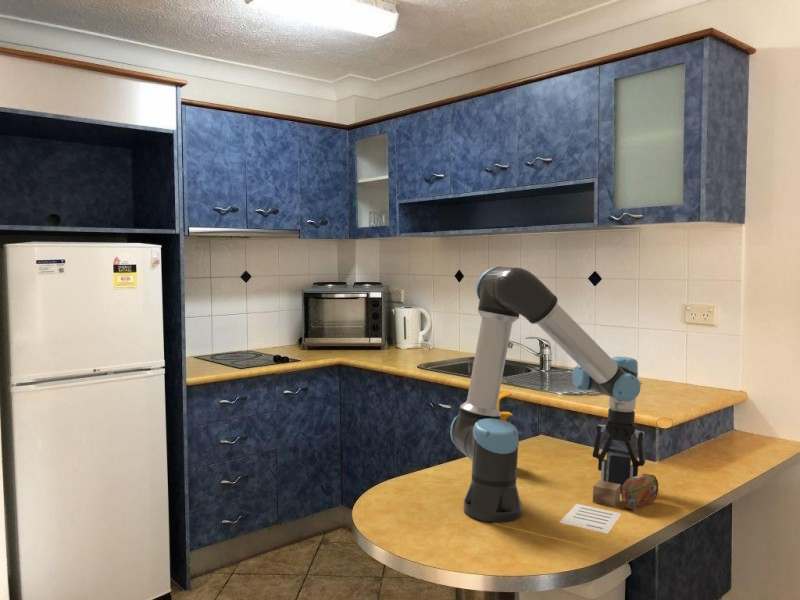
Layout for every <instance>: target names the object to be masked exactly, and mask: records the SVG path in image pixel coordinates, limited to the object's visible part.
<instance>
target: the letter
mask: <svg viewBox="0 0 800 600" xmlns="http://www.w3.org/2000/svg"><path fill="white" fill-rule="evenodd" d="M621 515H622V513H621V512H616V511H612V510H607V509H602V508H597V507H593V506H588V505H585V504H580V503H575V504H574V506H573V507H572V508H571V509H570V510H569V511H568V512H567V513H566V514H565V516H563V518H561V520H560V521H559V523H561V524H565V525H568V526H574V527H576V528H577V527H578V528H582V529H586V530H591V531H595V532H597V533H602V534H606V535H607V534H609V533H610V531H611V530H612V528H613V526H615V524H616V522H617V521H618V519H619V518H620V516H621Z"/></svg>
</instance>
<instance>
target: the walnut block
mask: <svg viewBox="0 0 800 600" xmlns="http://www.w3.org/2000/svg"><path fill="white" fill-rule="evenodd" d="M592 487H593V490H592V503H595V504H599V505H603V506H609V507H614V508H615V507H616V506H617V505H618V504H619V502H620V500H621V491H620V489H621V484H616V483H611V482H606V481H601V479H599V480H598V481H597V482H596V483H595V484H594V485H593V486H592Z"/></svg>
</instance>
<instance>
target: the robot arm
mask: <svg viewBox="0 0 800 600" xmlns="http://www.w3.org/2000/svg"><path fill="white" fill-rule="evenodd" d="M475 288H476V290H475V292H476V296H477V299H478V300H479V303H478V307H477V312H478V314H479V315H480V317H481V322H480V327H479V332H478V338H477V343H476V349H475V354H474V359H473V365H472V370H471V376H470V381H469V387H468V393H467V398H466V401H465V402H464V403H462V404H460V406H459V411H458V414H457V416H455V417H454V418H453V420H452V421H451V424H450V430H449V435H450V438H451V441H452V443H453V445H454V447H455V448H456V449H457V450H458V451H459V452H460V453H461V454H462V455H465V456H466V457H467V458H468V459H470V460H471V461H472V462H471V478H470V479H471V480H470V484H469V487H468V489H467V491H466V495H465V497H464V500H463V512H464V513H465V514H466V515H467V516H468V517H470V518H473V519H475V520H478V521H482V522H488V523H497V524H498V523H499V524H500V523H502V524H503V523H509V522H510V523H511V522H514V521H518V520H519V519H520V518H521V517H522V514H523V513H522V511H523V507H522V501H521V499H520V494H519V491H518V487H517V475H518V473H517V472H518V459H519V458H518V455H519V444H520V439H519V431H518V429H517V427H516V426H515V425H514V424H512V423H510V422H509V421H507V420H506V421H502V420H501V413H500V412H501V411H500V412H499V410H498V409H497V403H498V398H499V393H501V386H502V380H503V375H504V369H505V365H506V359H507V354H508V350H509V344H510V337H511V331H512V328H513V323H515V322H516V321H517V320H519V319H520V315H521V316H522V317H523V318H525V319H526V320H527V321H528V322H529V323H530V324H531V325H535V324H536V325H537V326H538V327H539V328H540V329H542V331H544V332H545V334H547V335H548V336H549V337H550V338H551V340H553V342H555V343H556V344H557V345H558V347H560V348H561V349H562V351H564V352H565V353H566V354H567V355H568V356H569V358H571V359H572V360H573V361H574V362H575V363H576V364H577V365H575V367H574V368H573V370H572V376H571V377H572V379H571V380H572V383H573V385H574V387H575V388H576V389H577V390H579V391H594V392H597V393H599V394H602V395H605V396H607V397H608V407H609V408H608V413H607V423H606V424H598V425H597V426H596V436H595V443H594V447H593V452H592V457H593V458H595V459H597V460H598V463H597V464H598V466H597V470H598V471H600V472H601V473H600V480H601V481H605V478H606V462H607V459H605V457H606V456H607V451H608V449H609V448H610V446H611V447H612V444H613V442H614V440H615V441H621V442H624V444H625V447H626V448H627V449H628V452H629V455H630V456H631V466H630V478H632V477H635V476H638V475H639V467H643V466H644V465H645V464H646V456H645V444H644V437H645V431H643V430H641V431H640V430H639V429H636V427H635V419H636V418H635V417H636V415H635V414H636V412H635V409H636V405H637V404H636V401H637V398H638V396H639V394H640V392H641V389H642V388H641V382H640V380H639V378H638V375H639V373H638V372H639V371H638V370H639V369H638V360H637V359H636V358H632V357H630V356H629V357H628V356H613V357H610V356H609V354H608V353H607V352H606V351H605V350H604V349H603V348H601V346H600V345H599V344H598V343H597V342H596V341H595V340H594V339H593V338H592V337H591V336H590V335H589V334H588V333H587V332H586V331H585V330H584V329H583V328H582V327H581V326H580V325H579V324H578V323H577V322H576V321H575V319H573V318H572V316H570V315H569V314H568V312H567V311H565V310H564V309H563V308H562V307H561V305H559V303H558V302H559V298H558V297H557V296H556V295H555V294H554V293H553V292H552V291H551V290H550V289H549V288H548V287H547V286H546V285H545V284H544V283H543V282H542V281H541V280H540V279H539V278H538V277H537V276H536V275H535V274H533V273H532V272H531V271H529V270H527V269H525V268H522V267H514V266H513V267H510V266H502V265H501V266H495V267H491V268H488V269H487V270H486V271H484V272H483V273H482V274H481V275H480V277H478V280H477V282H476V287H475ZM605 431H607V433H608V434H609V435H608V438H607V441H606V442H605V444H604V446H603V448H602V450H601V452H600V448H601V443H602V439H603V435H604V432H605ZM633 435H635V437H636V438H637V449H638V450H637V451H638V455H637V453H636V451H635V448H634V445H633V440H632V438H631V437H632V436H633ZM599 452H600V453H599ZM637 456H638V457H637Z"/></svg>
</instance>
